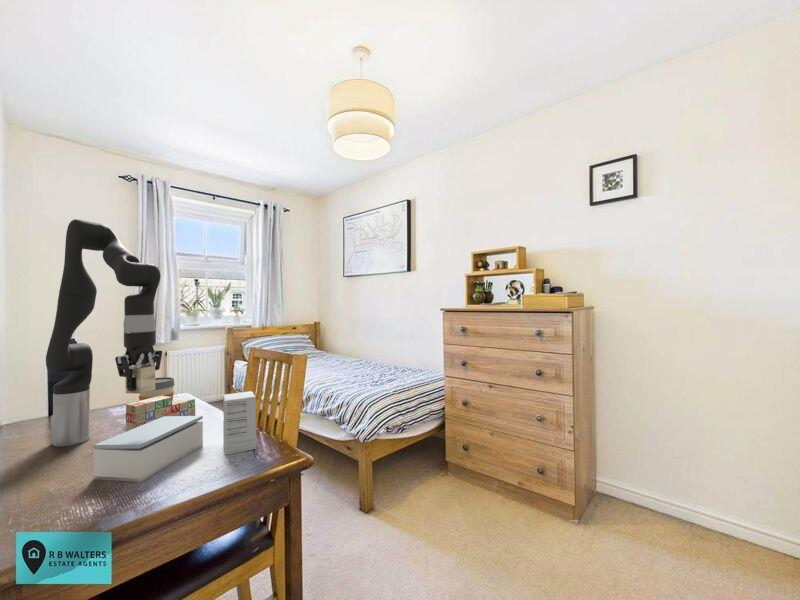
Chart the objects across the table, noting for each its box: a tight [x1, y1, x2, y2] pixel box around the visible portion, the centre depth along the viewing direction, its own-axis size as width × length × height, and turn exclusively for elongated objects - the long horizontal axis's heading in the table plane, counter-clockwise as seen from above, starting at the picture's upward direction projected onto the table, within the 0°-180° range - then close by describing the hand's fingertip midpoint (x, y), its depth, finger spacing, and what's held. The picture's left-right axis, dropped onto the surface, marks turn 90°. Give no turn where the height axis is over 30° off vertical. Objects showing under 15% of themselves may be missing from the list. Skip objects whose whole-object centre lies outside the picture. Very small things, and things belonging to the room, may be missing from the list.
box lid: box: [93, 415, 203, 450], centre depth 106 cm, size 14×24×1 cm, turn 172°
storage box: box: [93, 420, 204, 483], centre depth 106 cm, size 14×24×8 cm, turn 173°
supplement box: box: [222, 391, 257, 456], centre depth 116 cm, size 10×9×17 cm
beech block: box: [124, 365, 156, 395], centre depth 105 cm, size 5×5×7 cm
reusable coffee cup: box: [138, 376, 175, 401], centre depth 148 cm, size 13×13×15 cm
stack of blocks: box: [125, 396, 196, 432], centre depth 132 cm, size 21×6×12 cm, turn 154°
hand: (140, 388), depth 105 cm, fingers closed on beech block, 5 cm apart
